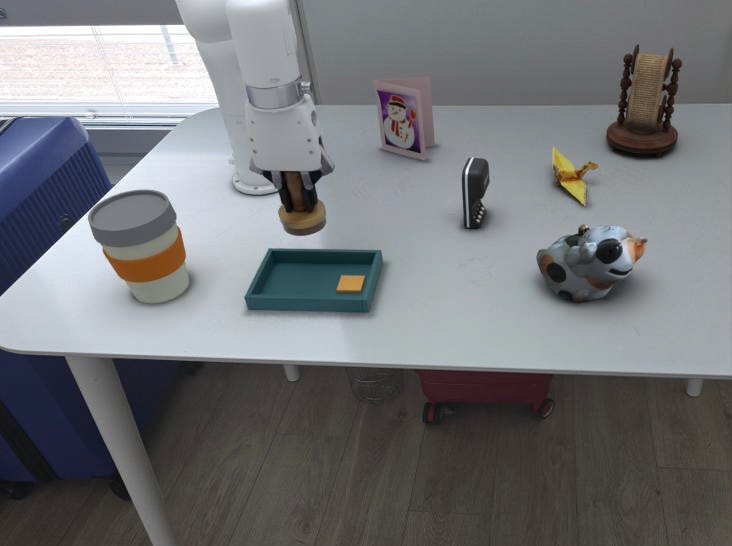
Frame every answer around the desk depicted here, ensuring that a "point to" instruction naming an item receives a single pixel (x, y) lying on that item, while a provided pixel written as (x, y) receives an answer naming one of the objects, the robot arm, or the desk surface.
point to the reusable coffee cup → (142, 243)
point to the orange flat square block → (350, 284)
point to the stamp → (300, 209)
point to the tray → (313, 280)
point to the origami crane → (571, 175)
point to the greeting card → (405, 115)
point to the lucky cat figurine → (590, 261)
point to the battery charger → (474, 191)
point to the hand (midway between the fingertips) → (301, 207)
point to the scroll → (646, 105)
